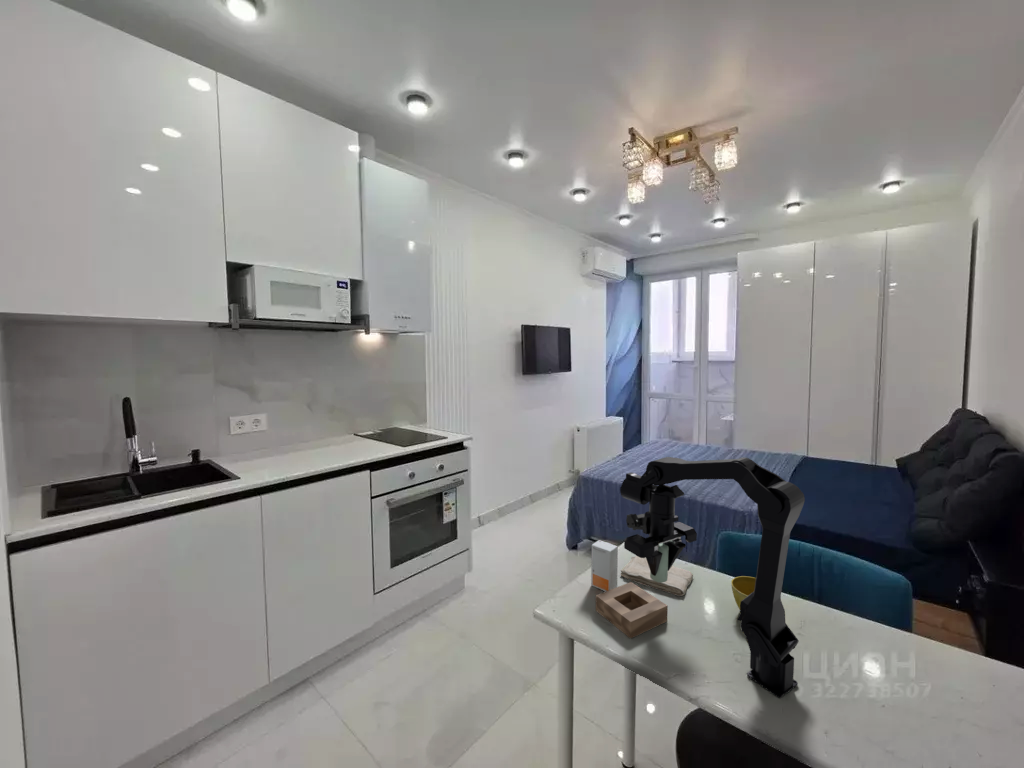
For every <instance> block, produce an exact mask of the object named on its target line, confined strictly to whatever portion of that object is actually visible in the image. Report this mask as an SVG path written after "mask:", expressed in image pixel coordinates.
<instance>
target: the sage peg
mask: <svg viewBox="0 0 1024 768" xmlns="http://www.w3.org/2000/svg"><path fill="white" fill-rule="evenodd" d="M668 550H669V547H668V546H667V545H666V544H664V543H662V544H659V546H658V551H659V552H661V553H662V557H661V561H660V564H659V568H658V571H657V574H656V576H654V575H652V574H651V571H650V578H651V579H652V580H654V581H656V582H666V581H667V578H668Z"/></svg>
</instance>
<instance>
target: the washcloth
mask: <svg viewBox="0 0 1024 768" xmlns="http://www.w3.org/2000/svg"><path fill="white" fill-rule="evenodd" d="M620 571H621V572H620V576H622V577H623V578H625V579H626V578H627V580H629V579H630V580H629V581H631V582H635V583H637V584H641V585H644V586H646V585H647V587H649V586H650V587H649V588H653V589H657V590H658V591H661V592H666V593H668V594H671V595H675V596H678V597H683V596H685V594H686V592H687V587H688V586H689V585H691V582H692V581H693V577H694V574H693V573H692V572H691V571H690V570H686V569H684V568H680V567H676V566H674V565H672V566H671V568H670V570H669V571H668V578H667V581H666V582H656V581H654V580H652V579H651V578H650V568H649V565H648V562H647V560H646V558H640V557H638V556H636V555H635V556H631V558H630V560H629V561H628V562H627V563H626V564H625V565H624V566H623V568H622V569H620Z"/></svg>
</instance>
